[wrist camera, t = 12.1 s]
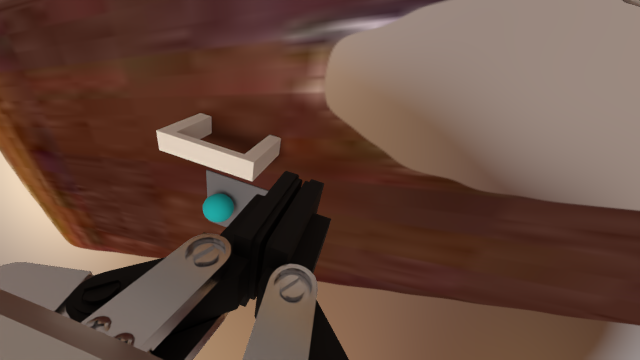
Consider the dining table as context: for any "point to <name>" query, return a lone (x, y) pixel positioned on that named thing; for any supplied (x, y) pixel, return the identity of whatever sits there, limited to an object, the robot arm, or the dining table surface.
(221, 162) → the bridge
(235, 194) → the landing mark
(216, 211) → the ball
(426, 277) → the dining table surface
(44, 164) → the dining table surface
